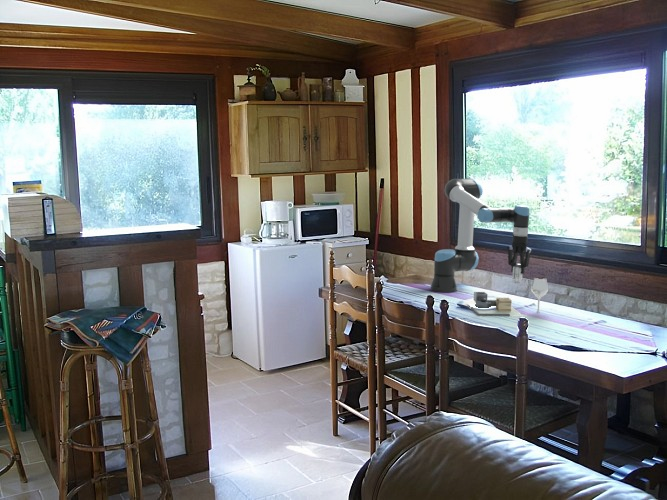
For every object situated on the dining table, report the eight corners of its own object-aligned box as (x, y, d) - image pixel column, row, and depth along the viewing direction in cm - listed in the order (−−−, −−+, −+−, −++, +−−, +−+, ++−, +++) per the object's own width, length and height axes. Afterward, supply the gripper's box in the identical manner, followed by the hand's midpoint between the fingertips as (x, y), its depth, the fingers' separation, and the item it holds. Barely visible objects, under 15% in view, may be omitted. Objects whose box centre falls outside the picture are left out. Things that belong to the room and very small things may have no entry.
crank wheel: (471, 302, 368) (471, 291, 367) (504, 303, 368) (505, 292, 368) (477, 308, 354) (477, 297, 353) (512, 309, 355) (512, 297, 354)
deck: (465, 304, 369) (465, 301, 368) (508, 304, 369) (508, 302, 369) (477, 317, 340) (477, 314, 340) (524, 317, 340) (524, 314, 340)
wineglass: (526, 312, 351) (528, 277, 348) (534, 310, 357) (536, 275, 354) (541, 315, 345) (544, 280, 343) (549, 313, 351) (551, 278, 349)
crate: (495, 309, 356) (496, 297, 355) (507, 309, 356) (508, 297, 355) (498, 311, 350) (499, 300, 349) (510, 311, 350) (511, 300, 349)
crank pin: (513, 282, 369) (514, 263, 367) (519, 282, 369) (520, 263, 367) (514, 283, 366) (516, 264, 364) (520, 283, 366) (522, 264, 364)
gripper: (502, 234, 366) (500, 277, 370) (530, 237, 355) (527, 282, 359) (510, 232, 372) (507, 276, 375) (537, 236, 361) (534, 280, 364)
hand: (517, 279), depth 367 cm, fingers closed on crank pin, 3 cm apart
